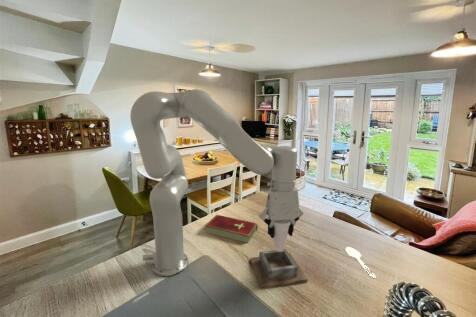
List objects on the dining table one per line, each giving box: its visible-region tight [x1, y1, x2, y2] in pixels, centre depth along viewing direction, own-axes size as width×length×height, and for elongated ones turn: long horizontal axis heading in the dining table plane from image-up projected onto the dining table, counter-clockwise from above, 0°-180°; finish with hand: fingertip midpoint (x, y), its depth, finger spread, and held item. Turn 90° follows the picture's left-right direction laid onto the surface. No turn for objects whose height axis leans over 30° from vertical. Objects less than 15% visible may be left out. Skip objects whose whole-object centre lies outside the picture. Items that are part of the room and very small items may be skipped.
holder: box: [249, 248, 309, 289], centre depth 82 cm, size 16×14×4 cm
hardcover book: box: [204, 214, 258, 243], centre depth 107 cm, size 12×21×4 cm, turn 68°
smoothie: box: [273, 220, 291, 249], centre depth 79 cm, size 6×6×14 cm
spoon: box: [344, 246, 377, 279], centre depth 89 cm, size 5×18×1 cm, turn 2°
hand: (280, 234), depth 80 cm, fingers closed on smoothie, 5 cm apart
